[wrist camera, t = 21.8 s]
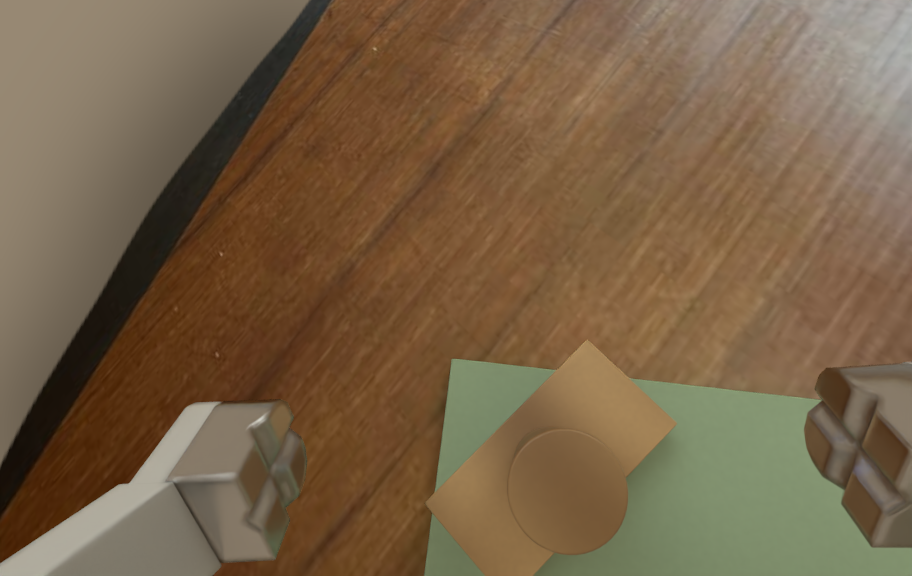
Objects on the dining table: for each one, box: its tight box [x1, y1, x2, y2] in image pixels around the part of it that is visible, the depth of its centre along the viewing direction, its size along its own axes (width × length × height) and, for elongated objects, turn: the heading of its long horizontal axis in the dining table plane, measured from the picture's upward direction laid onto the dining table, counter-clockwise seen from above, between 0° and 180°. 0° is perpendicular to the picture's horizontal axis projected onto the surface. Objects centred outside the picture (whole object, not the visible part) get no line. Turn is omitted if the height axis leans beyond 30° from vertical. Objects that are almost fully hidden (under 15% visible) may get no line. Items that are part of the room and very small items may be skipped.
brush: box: [425, 340, 677, 576], centre depth 18 cm, size 10×5×12 cm, turn 134°
